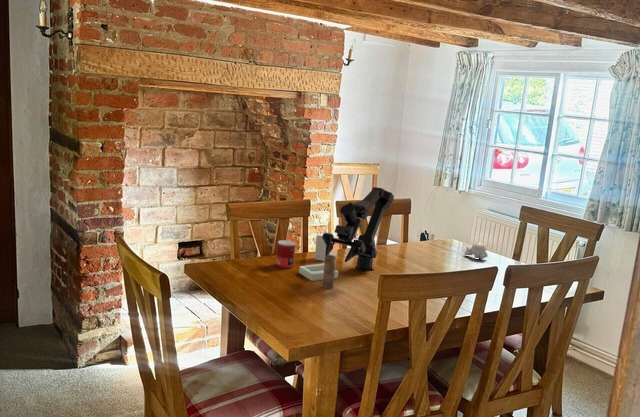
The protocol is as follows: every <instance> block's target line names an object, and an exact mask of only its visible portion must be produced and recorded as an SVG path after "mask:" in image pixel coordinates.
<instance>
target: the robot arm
mask: <svg viewBox="0 0 640 417" xmlns="http://www.w3.org/2000/svg"><path fill="white" fill-rule="evenodd" d="M394 200H395V196H394V194H393V192H390V191H388V190H386V189H385V188H383V187H376V186H374V187H372V188H371V191H370V192H369V193H368V194H367V195H366V196H364V198H362V200H361V201H356V202H355V203H353V202H348V203H347V204H345V205H343V206H342V207H341V208H340V213H341V217H342V219H343V220H344V222H345V224H344V225H339V224H337V225H336V226H335V229H334V233H335V234H336V236H337V237H335V236H334V234H333V233H329V232H323V233H322V234H323V236H322V238H323V240H324V242H325V244H326V253H325V256H326V255H329V254H330V255H331V252H332V251H333V249H334V246H335V244H339V245H344V246H348V247H350V249H349V251H348V253H347V254H346V257H345V258H344V262H345V263H347V262H349V261H350V260H351V259H353V258H354V257H357V256H358V257H357V260H356V265H355V268H356V269H358V270H360V271H361V272H366V271H367V272H368V271H374V270H375V268H373V261H374V259H376V258H377V256H378V251H377V248H376V240H375V238H376V235H377V231H378V229H379V226H380V223H381V221H382V220H383V219H382V218H383V217H384V214H385V211H386V210H388V209H389V208H390V207H391V204H392V203H393V202H394ZM373 206H374V207H373ZM372 207H373V210H372V213H371V216H370V218H369V221H368V224H367V226H366V228H365V232H364V233H363V234H360V235H358V237H357V232H358V230H359V228H362V221H361V219H362V220H366V219H367V218H368V217H369V215H370V210H371V208H372ZM356 237H357V239H356Z"/></svg>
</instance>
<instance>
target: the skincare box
mask: <svg viewBox="0 0 640 417" xmlns="http://www.w3.org/2000/svg"><path fill="white" fill-rule="evenodd" d="M323 234H324V233H318V234H316V242H315V255H314V260H317V261H323V262H325V253H326V244H325V242H324V240H323V238H322V236H323ZM329 255H331V253H330V254H329Z"/></svg>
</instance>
